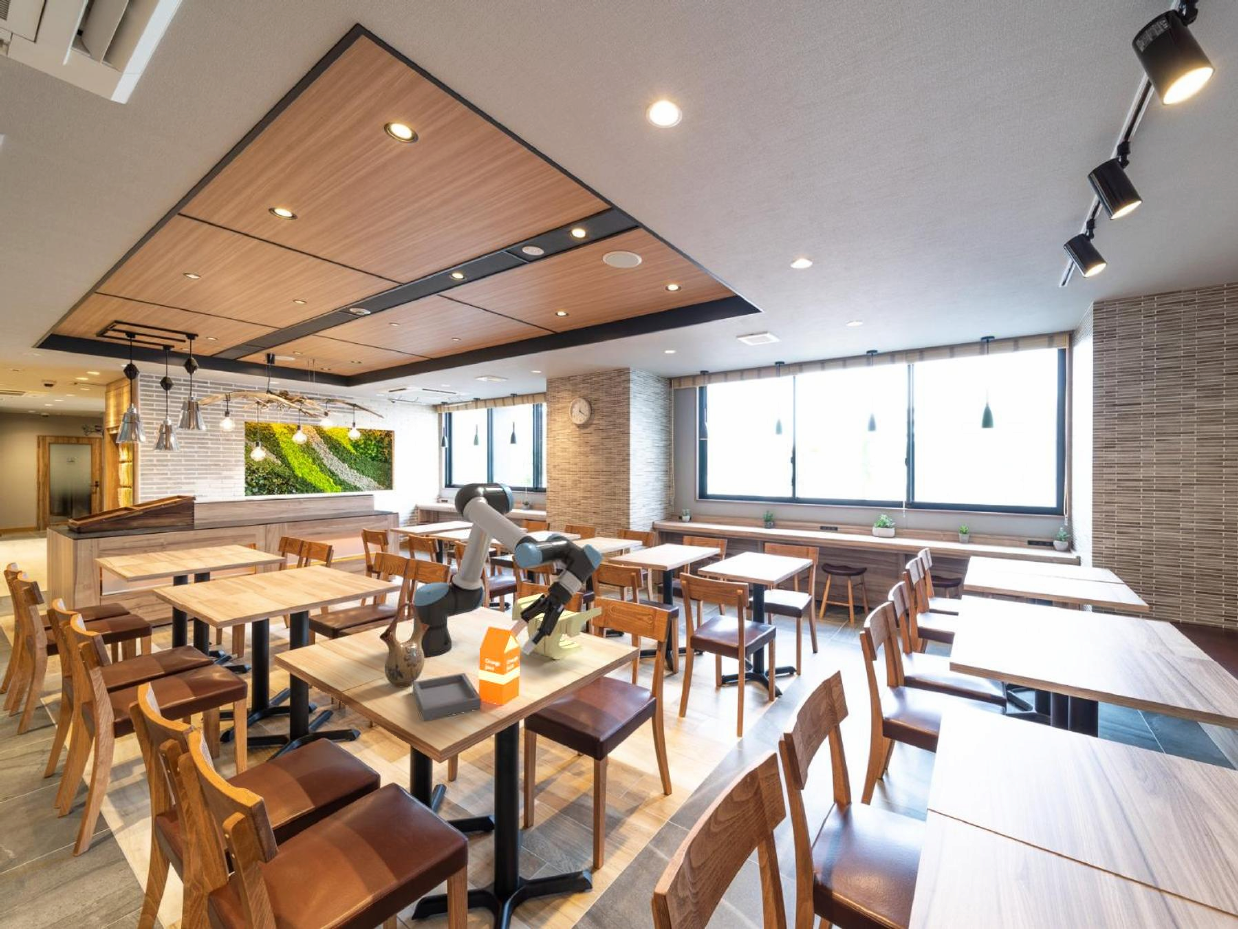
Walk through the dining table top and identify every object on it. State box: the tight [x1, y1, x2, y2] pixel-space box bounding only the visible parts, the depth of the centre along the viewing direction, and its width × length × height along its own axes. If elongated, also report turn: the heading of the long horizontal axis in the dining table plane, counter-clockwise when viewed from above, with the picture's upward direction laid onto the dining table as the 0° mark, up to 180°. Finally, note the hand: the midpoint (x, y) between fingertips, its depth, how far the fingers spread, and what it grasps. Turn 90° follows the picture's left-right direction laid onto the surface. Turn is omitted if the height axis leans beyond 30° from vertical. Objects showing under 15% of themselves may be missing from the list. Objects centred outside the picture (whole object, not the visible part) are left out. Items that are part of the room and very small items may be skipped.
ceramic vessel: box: [379, 602, 430, 688], centre depth 156 cm, size 16×9×25 cm, turn 146°
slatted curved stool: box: [511, 592, 603, 660], centre depth 186 cm, size 30×16×18 cm, turn 53°
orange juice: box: [478, 626, 521, 706], centre depth 148 cm, size 8×9×20 cm
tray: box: [412, 672, 482, 722], centre depth 145 cm, size 20×15×3 cm
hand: (516, 644), depth 150 cm, fingers open, 13 cm apart
